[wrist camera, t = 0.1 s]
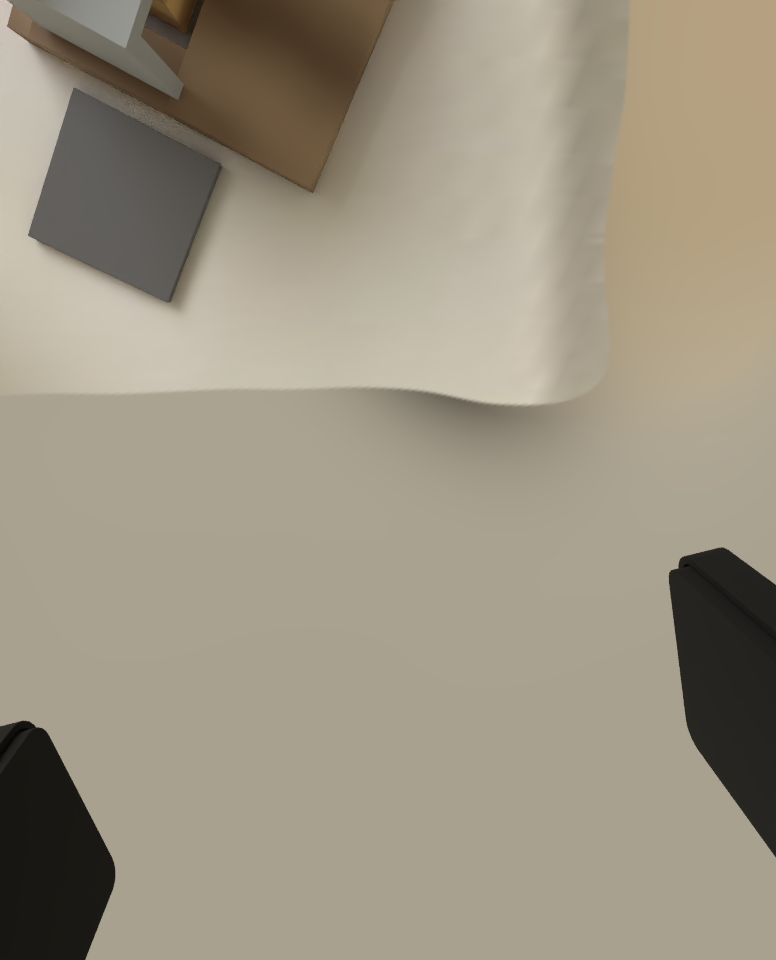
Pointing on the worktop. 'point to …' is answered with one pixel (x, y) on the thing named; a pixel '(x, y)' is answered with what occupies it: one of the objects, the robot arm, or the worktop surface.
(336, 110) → the board
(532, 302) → the worktop surface
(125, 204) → the mat
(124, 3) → the cover
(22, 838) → the robot arm
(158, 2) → the block
